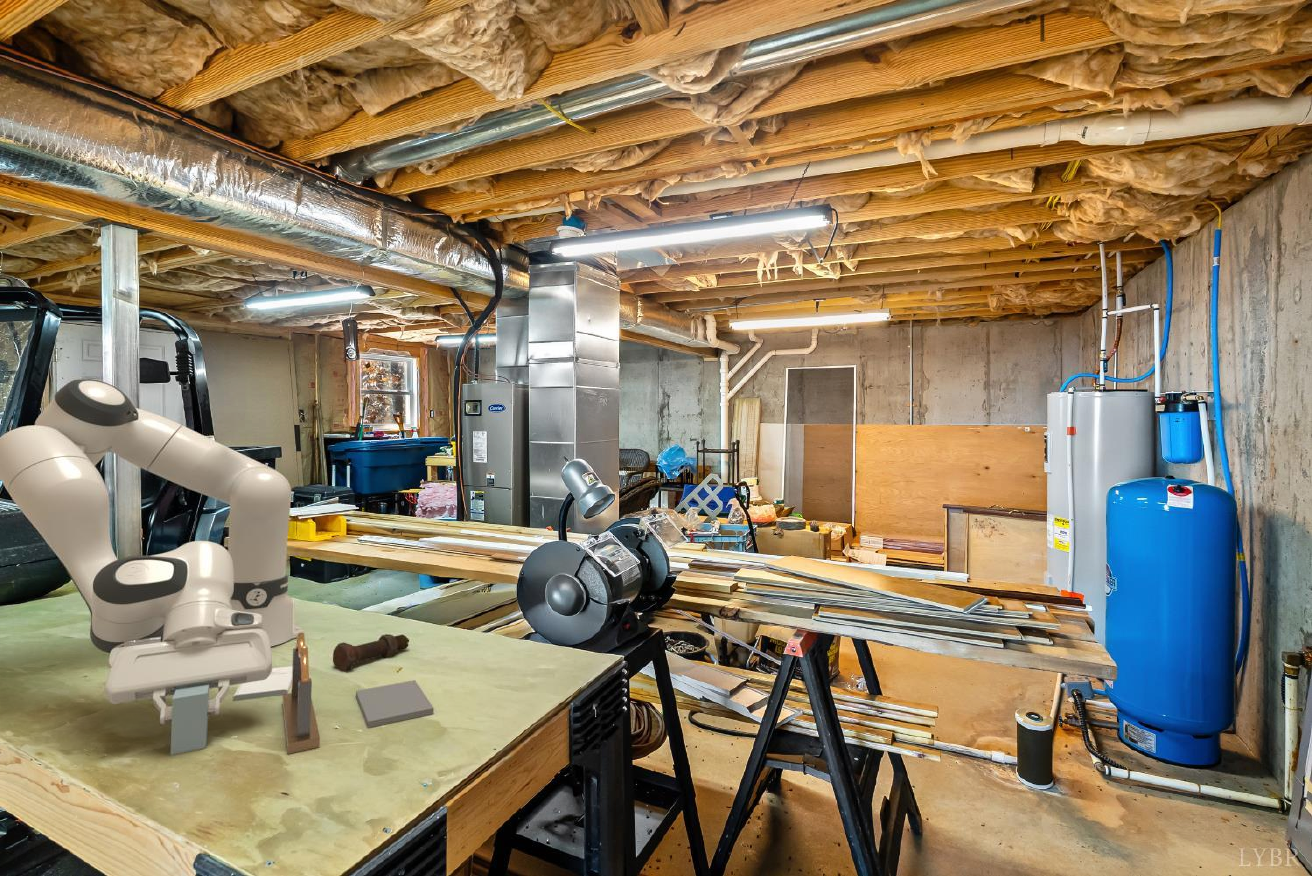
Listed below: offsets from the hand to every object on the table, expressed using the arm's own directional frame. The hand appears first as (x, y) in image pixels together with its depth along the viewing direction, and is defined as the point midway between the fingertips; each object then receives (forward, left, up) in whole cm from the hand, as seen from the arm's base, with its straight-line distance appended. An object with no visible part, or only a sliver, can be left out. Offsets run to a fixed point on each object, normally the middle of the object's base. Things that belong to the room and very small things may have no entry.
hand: (190, 717), depth 88 cm
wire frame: (-1, +14, -4) cm, 15 cm away
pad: (-1, +28, -4) cm, 28 cm away
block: (-1, 0, -4) cm, 4 cm away
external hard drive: (-21, +10, -5) cm, 24 cm away
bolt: (-26, +29, -5) cm, 39 cm away
